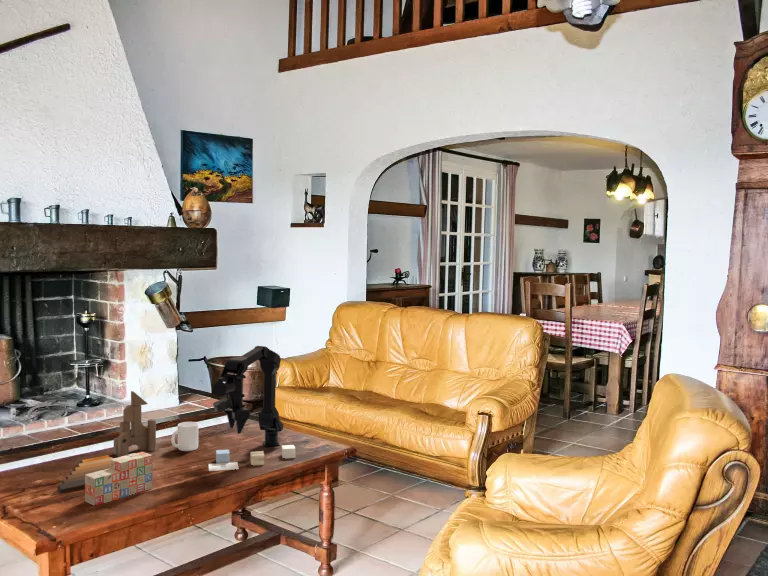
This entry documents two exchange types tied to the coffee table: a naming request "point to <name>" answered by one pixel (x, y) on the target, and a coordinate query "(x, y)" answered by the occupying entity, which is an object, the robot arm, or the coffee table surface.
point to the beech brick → (257, 458)
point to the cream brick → (288, 451)
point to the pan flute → (83, 473)
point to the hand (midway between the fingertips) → (235, 430)
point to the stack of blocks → (120, 479)
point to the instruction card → (223, 466)
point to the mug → (186, 436)
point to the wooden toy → (135, 429)
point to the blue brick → (222, 456)
